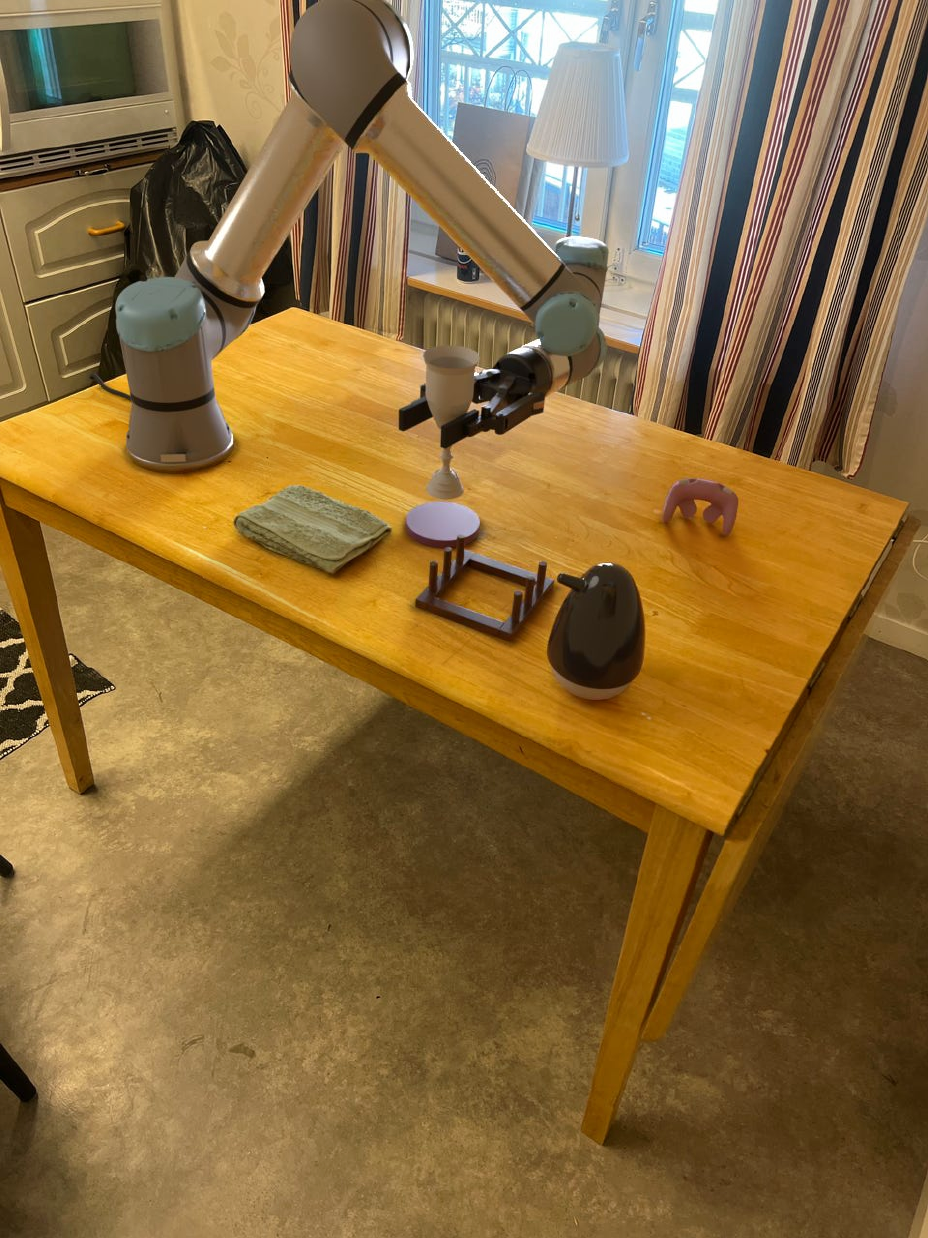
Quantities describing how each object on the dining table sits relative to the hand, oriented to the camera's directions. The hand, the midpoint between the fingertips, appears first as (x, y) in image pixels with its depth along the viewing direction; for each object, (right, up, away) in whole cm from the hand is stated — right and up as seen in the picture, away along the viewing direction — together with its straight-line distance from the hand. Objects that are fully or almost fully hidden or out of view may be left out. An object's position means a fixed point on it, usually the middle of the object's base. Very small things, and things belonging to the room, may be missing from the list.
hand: (422, 428), depth 107 cm
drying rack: (+8, -20, +2) cm, 22 cm away
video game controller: (+38, -9, +19) cm, 43 cm away
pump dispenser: (+19, -30, -10) cm, 36 cm away
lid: (+2, -11, +13) cm, 17 cm away
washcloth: (-15, -12, +10) cm, 22 cm away
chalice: (+3, -6, +10) cm, 12 cm away
